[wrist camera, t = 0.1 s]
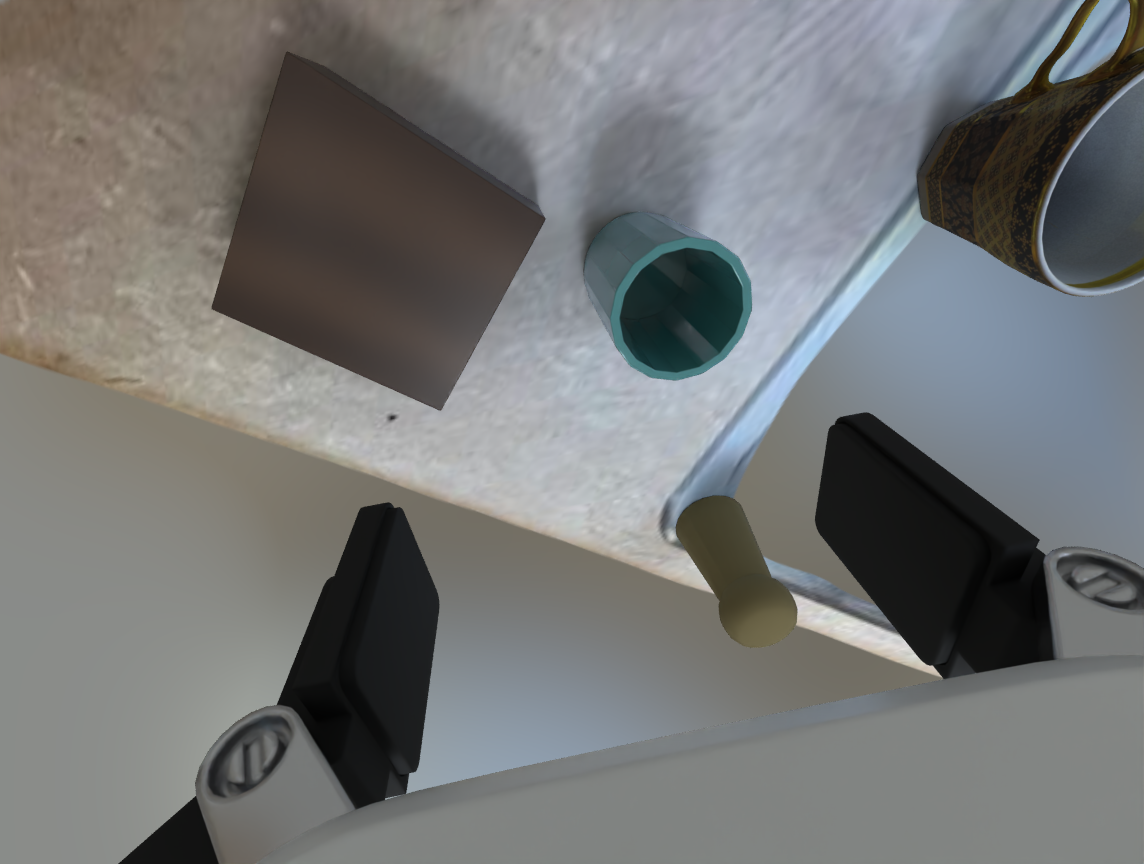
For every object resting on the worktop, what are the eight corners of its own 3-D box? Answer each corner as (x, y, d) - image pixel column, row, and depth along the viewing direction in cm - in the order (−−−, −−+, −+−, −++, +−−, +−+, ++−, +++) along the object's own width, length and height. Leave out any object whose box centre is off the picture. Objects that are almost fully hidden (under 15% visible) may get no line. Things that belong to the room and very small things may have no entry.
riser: (324, 65, 24) (285, 50, 20) (539, 206, 28) (546, 218, 24) (253, 283, 28) (210, 309, 24) (448, 375, 33) (440, 411, 29)
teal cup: (624, 187, 28) (669, 206, 21) (711, 250, 31) (781, 288, 23) (563, 289, 31) (583, 340, 23) (648, 340, 33) (692, 401, 26)
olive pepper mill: (756, 524, 43) (826, 631, 34) (697, 559, 45) (749, 672, 35) (723, 483, 40) (790, 587, 31) (662, 522, 42) (708, 634, 32)
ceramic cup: (1050, 206, 32) (1250, 231, 23) (899, 283, 33) (1035, 333, 25) (1055, -38, 25) (1335, -126, 17) (867, 71, 27) (1037, 41, 18)
